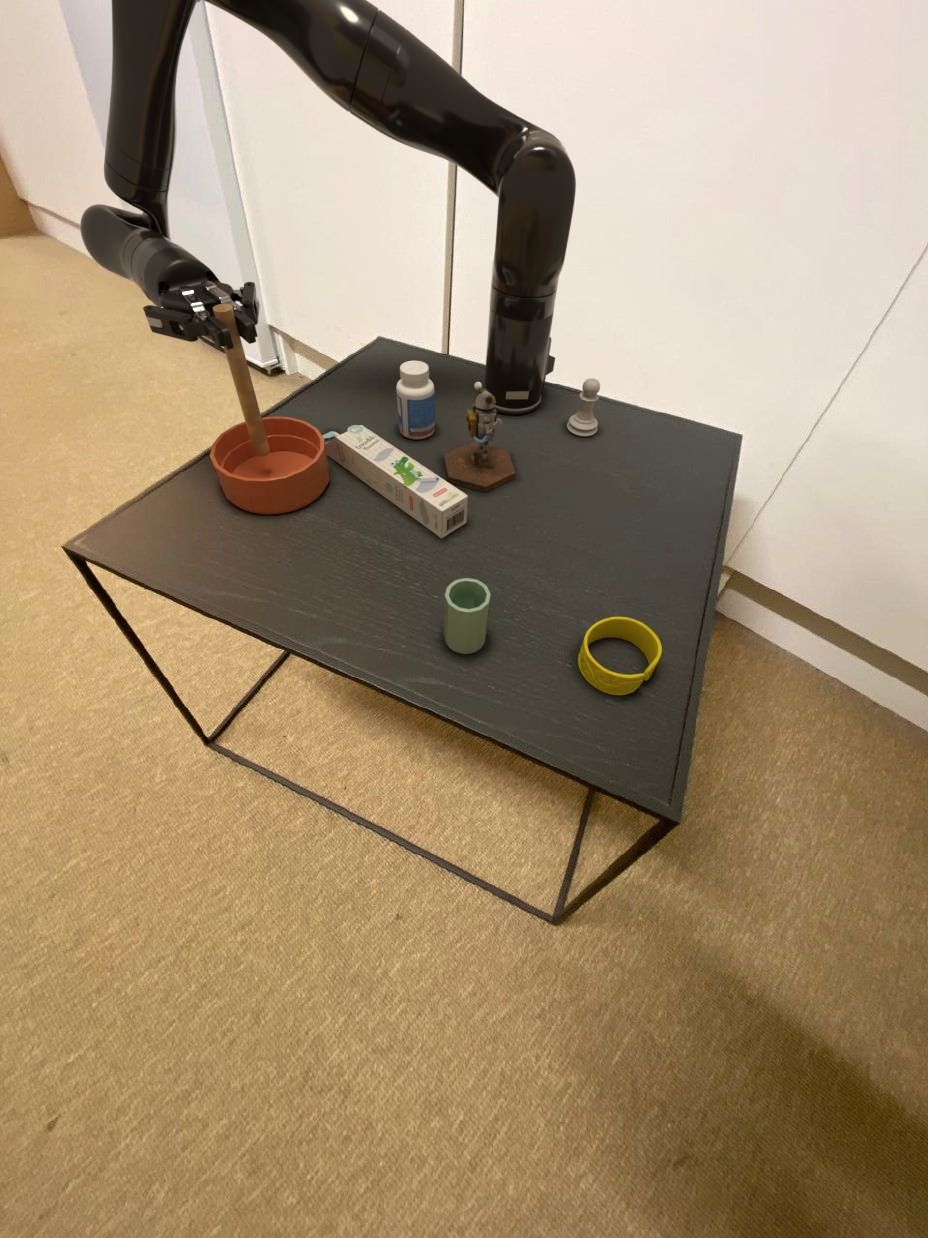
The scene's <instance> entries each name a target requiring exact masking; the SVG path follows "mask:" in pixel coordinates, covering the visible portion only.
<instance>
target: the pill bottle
mask: <svg viewBox="0 0 928 1238" xmlns="http://www.w3.org/2000/svg"><path fill="white" fill-rule="evenodd" d="M399 376H400V379H399V380H398V381H397V383H396V404H397V405H396V406H397V418H398V429H399V432H400V434H401V435H402V436H403V437H405V438H407V439H410V440H423V439H427V438H429V437H431V436H432V435H433V434H434V432H435V430H436V414H435V413H436V411H435V410H436V409H435V407H436V406H435V385H434V382H433V381H432V380H431V379H430V368H429V364H427V363H426V362H424V361H421V360H408V361H405V362H403V363H402V364H400V365H399Z"/></svg>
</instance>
